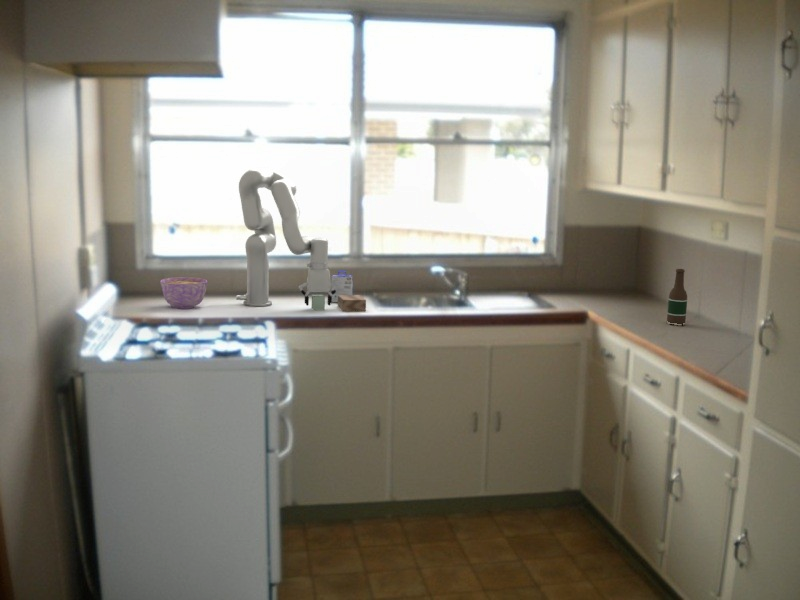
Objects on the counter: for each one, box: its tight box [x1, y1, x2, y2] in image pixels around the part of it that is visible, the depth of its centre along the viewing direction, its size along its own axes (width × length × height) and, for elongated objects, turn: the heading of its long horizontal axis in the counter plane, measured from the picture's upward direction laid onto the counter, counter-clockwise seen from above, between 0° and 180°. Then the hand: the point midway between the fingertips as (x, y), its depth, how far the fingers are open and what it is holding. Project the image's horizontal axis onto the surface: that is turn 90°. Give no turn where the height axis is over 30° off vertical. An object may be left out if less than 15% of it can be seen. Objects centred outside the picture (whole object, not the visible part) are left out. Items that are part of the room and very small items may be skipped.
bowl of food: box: [159, 276, 209, 310], centre depth 389 cm, size 20×20×12 cm
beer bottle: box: [666, 268, 688, 324], centre depth 387 cm, size 8×8×24 cm
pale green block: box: [311, 294, 326, 311], centre depth 396 cm, size 5×5×6 cm
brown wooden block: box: [337, 294, 367, 312], centre depth 400 cm, size 10×13×5 cm
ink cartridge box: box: [330, 269, 354, 303], centre depth 416 cm, size 10×6×14 cm, turn 94°
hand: (318, 305), depth 396 cm, fingers open, 9 cm apart
